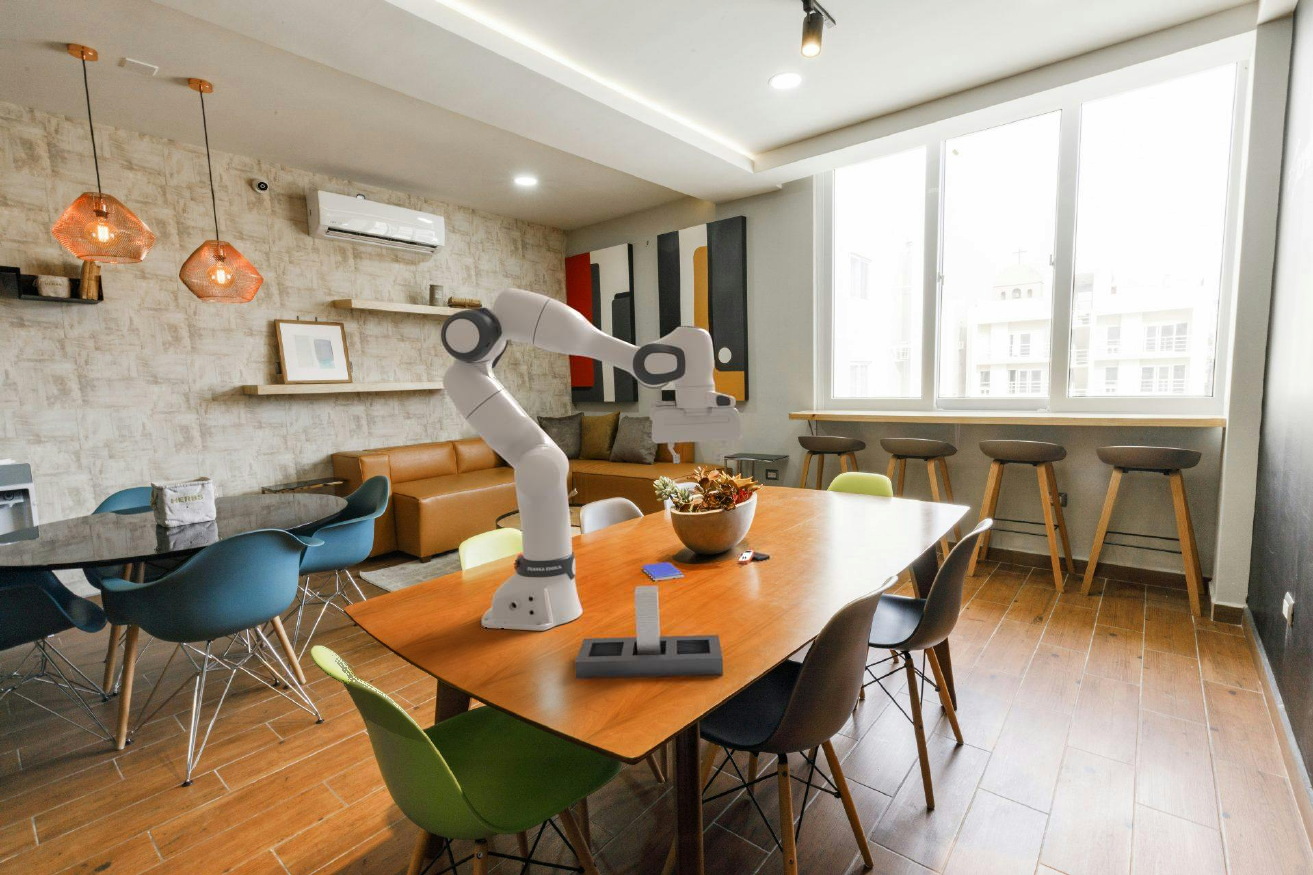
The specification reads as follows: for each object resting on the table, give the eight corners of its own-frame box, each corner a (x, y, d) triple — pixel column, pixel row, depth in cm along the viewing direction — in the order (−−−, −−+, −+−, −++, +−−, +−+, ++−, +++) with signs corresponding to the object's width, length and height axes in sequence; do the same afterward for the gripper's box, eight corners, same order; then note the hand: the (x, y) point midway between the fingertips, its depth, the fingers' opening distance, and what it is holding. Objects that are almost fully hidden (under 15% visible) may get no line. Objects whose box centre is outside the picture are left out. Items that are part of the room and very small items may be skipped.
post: (638, 668, 107) (634, 593, 106) (639, 658, 111) (636, 586, 110) (660, 668, 107) (656, 592, 106) (660, 658, 111) (657, 585, 110)
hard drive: (683, 573, 159) (668, 561, 171) (654, 577, 157) (641, 565, 169) (683, 579, 160) (669, 567, 171) (655, 583, 157) (642, 570, 169)
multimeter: (734, 576, 160) (734, 563, 159) (706, 566, 169) (706, 555, 169) (781, 564, 169) (781, 552, 169) (752, 555, 179) (752, 544, 179)
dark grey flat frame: (575, 678, 104) (575, 661, 104) (584, 653, 114) (583, 638, 114) (723, 674, 103) (722, 658, 103) (719, 649, 113) (718, 634, 113)
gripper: (648, 402, 128) (650, 465, 129) (742, 398, 127) (744, 461, 128) (649, 401, 134) (652, 462, 135) (739, 398, 134) (741, 458, 135)
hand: (697, 461), depth 132 cm, fingers open, 8 cm apart
